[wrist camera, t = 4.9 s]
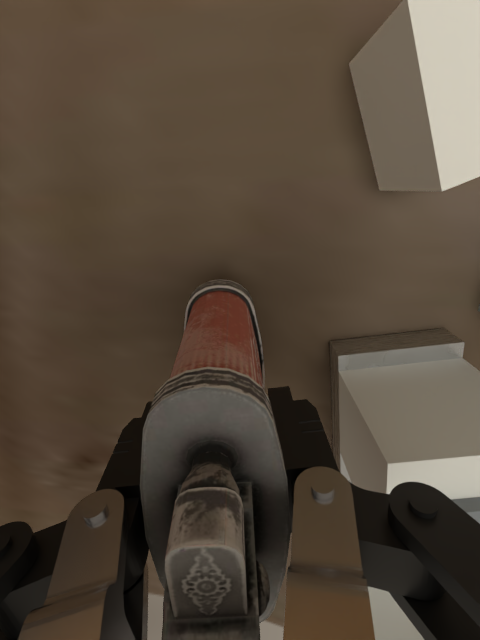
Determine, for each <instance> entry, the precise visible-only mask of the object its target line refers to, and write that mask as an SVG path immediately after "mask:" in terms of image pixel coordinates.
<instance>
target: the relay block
mask: <svg viewBox="0 0 480 640" xmlns="http://www.w3.org/2000/svg"><path fill="white" fill-rule="evenodd" d="M349 67H350V71H351V75H352V79H353V83H354V88H355V92H356V96H357V100H358V104H359V108H360V112H361V116H362V121H363V125H364V129H365V133H366V137H367V141H368V145H369V150H370V154H371V158H372V162H373V166H374V170H375V174H376V178H377V183H378V187H379V191H437V192H442V191H445V190H447V189H450V188H452V187H455V186H457V185H460V184H462V183H464V182H467V181H469V180H472V179H474V178H477V177H479V176H480V0H403V1H402V2H401V3H400V5H399V6H398V7H397V8H396V9H395V10H394V12H393V13H392V14H391V15H390V16H389V17H388V19H387V20H386V21H385V22H384V23H383V24H382V26H381V27H380V28H379V29H378V30H377V31H376V33H375V34H374V35H373V36H372V37H371V38H370V40H369V41H368V42H367V43H366V44H365V45H364V47H363V48H362V49H361V50H360V51H359V52H358V54H357V55H356V56H355V57H354V58H353V59H352V61H351V62H350V63H349Z"/></svg>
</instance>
